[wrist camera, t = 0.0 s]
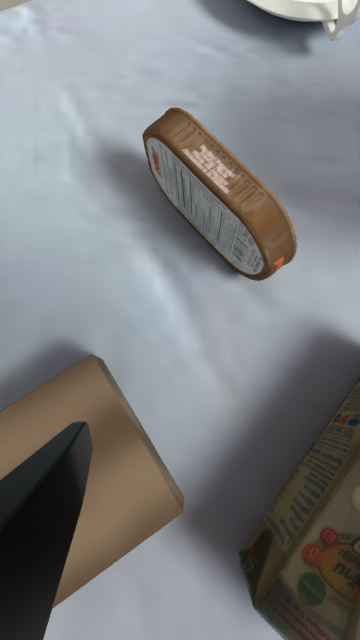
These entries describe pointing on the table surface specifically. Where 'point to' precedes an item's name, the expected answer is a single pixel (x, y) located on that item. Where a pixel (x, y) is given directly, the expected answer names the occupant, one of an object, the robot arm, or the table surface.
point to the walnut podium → (96, 466)
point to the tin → (219, 196)
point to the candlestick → (316, 12)
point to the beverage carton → (313, 540)
